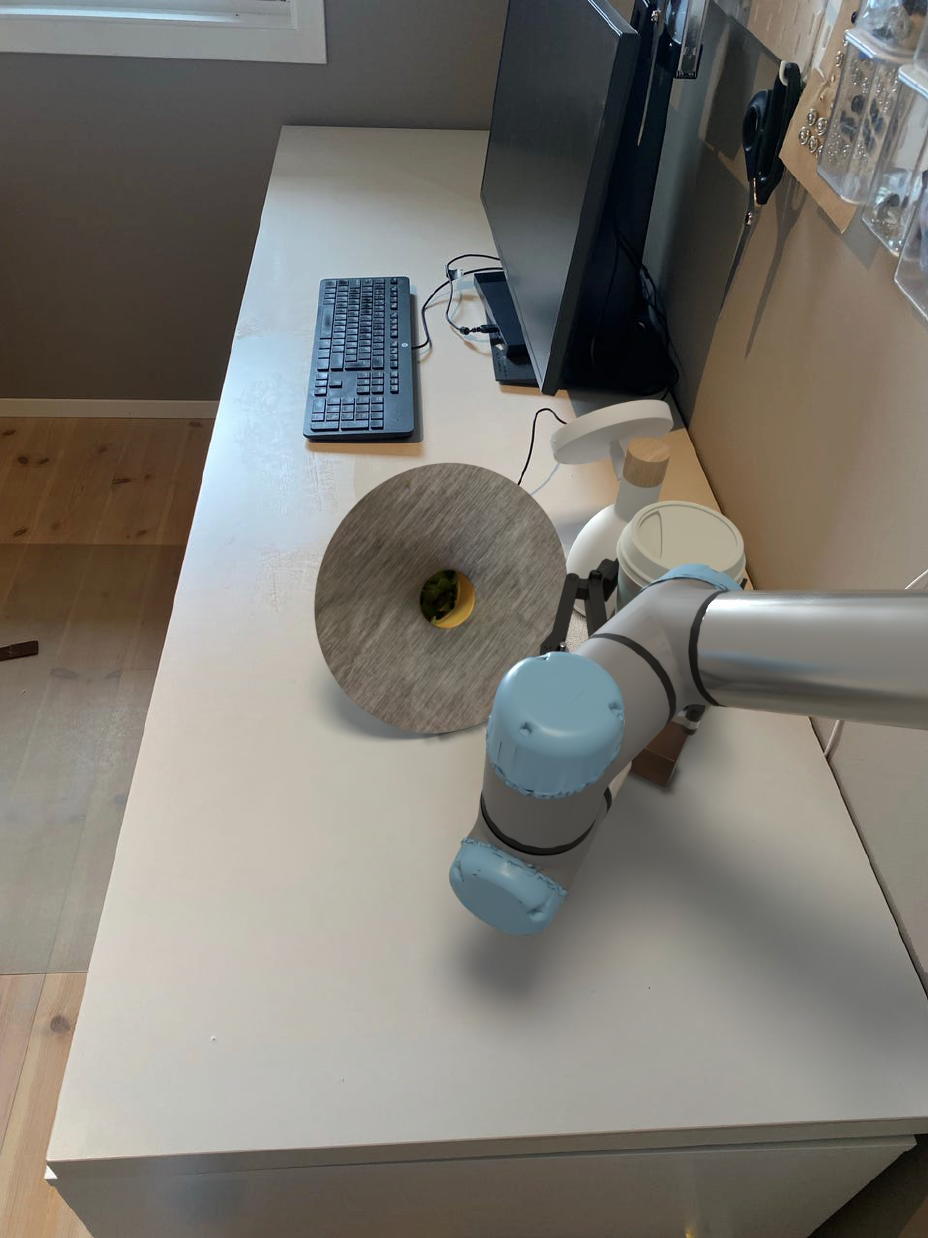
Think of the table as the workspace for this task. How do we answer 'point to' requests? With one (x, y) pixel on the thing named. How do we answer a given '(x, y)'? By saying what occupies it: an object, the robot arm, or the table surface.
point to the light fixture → (639, 472)
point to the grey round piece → (437, 594)
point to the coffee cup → (675, 545)
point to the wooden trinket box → (660, 752)
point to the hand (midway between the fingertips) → (684, 567)
